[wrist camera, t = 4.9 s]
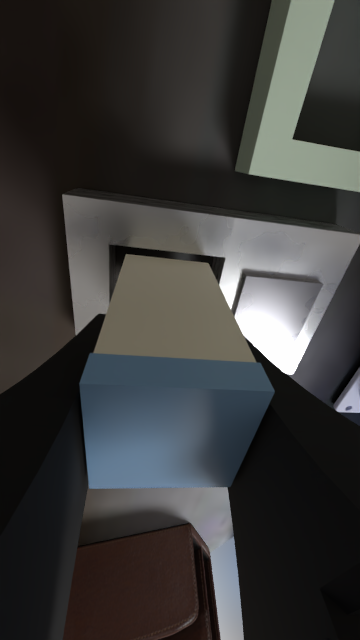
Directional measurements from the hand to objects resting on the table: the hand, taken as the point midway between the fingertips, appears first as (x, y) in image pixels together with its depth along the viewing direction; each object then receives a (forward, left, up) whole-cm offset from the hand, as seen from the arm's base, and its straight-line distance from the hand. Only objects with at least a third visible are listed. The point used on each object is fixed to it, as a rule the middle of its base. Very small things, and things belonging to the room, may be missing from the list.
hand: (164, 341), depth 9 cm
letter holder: (0, +39, -5) cm, 39 cm away
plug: (0, 0, -3) cm, 3 cm away
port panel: (-2, 0, -5) cm, 5 cm away
